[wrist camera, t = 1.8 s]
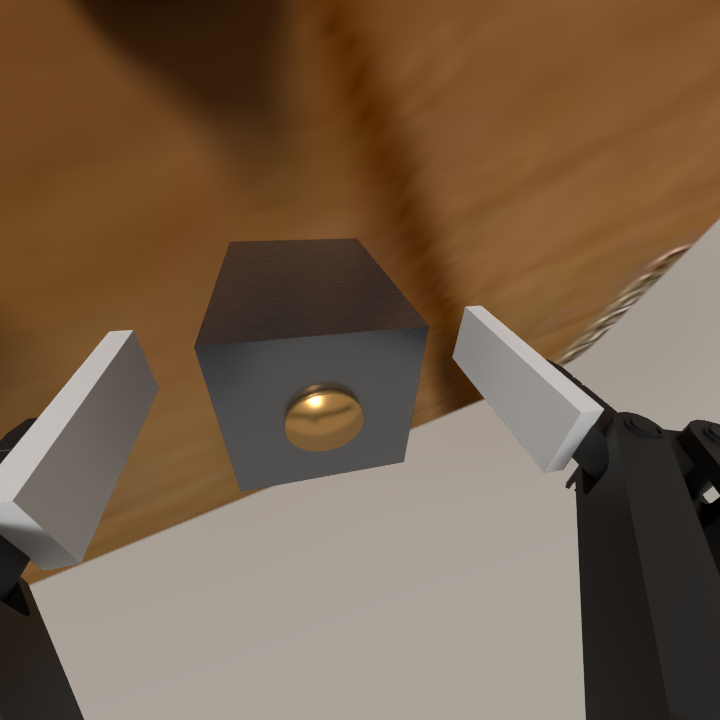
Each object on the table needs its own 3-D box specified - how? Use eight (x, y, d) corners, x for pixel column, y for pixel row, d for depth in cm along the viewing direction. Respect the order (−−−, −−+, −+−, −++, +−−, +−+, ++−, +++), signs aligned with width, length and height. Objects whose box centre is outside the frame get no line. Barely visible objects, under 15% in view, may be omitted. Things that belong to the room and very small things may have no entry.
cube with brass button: (251, 350, 18) (239, 499, 11) (230, 241, 15) (191, 353, 7) (353, 340, 19) (406, 468, 12) (356, 238, 16) (433, 331, 8)
